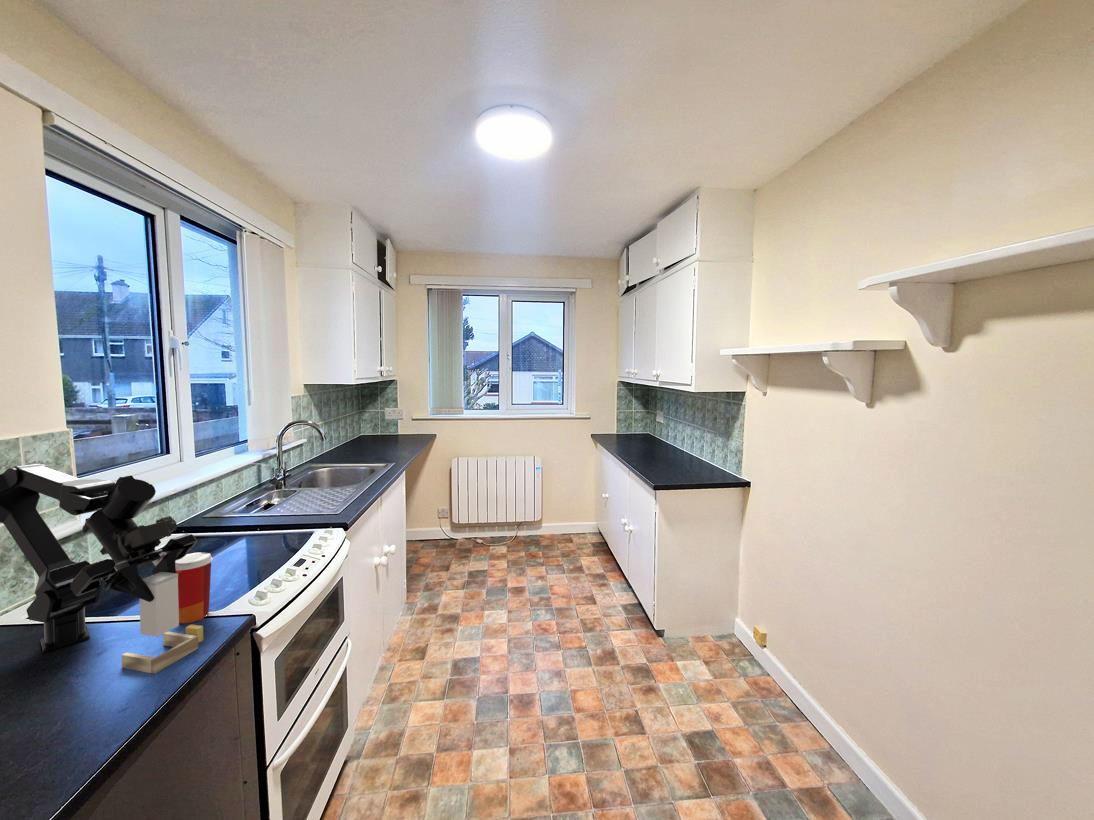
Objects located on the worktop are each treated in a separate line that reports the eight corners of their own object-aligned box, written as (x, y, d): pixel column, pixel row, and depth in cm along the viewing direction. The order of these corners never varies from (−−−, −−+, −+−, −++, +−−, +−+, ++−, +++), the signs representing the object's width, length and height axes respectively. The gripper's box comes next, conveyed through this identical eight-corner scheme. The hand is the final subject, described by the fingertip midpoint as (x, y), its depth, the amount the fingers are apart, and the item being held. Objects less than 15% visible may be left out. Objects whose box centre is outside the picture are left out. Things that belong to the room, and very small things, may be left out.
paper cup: (196, 607, 104) (194, 550, 103) (222, 610, 102) (221, 552, 102) (161, 624, 96) (159, 562, 96) (189, 628, 95) (187, 566, 94)
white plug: (140, 634, 83) (138, 580, 82) (163, 622, 87) (161, 571, 86) (156, 636, 82) (155, 582, 81) (179, 625, 86) (178, 573, 85)
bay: (121, 667, 81) (121, 654, 81) (167, 643, 89) (167, 631, 89) (154, 673, 80) (154, 660, 80) (198, 648, 88) (197, 636, 88)
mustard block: (185, 641, 90) (185, 627, 90) (191, 638, 91) (191, 624, 91) (197, 643, 89) (197, 629, 89) (203, 640, 91) (202, 626, 90)
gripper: (79, 521, 75) (131, 591, 73) (189, 496, 93) (232, 551, 91) (48, 561, 77) (97, 630, 75) (161, 529, 95) (203, 583, 93)
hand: (164, 594), depth 84 cm, fingers closed on white plug, 4 cm apart
